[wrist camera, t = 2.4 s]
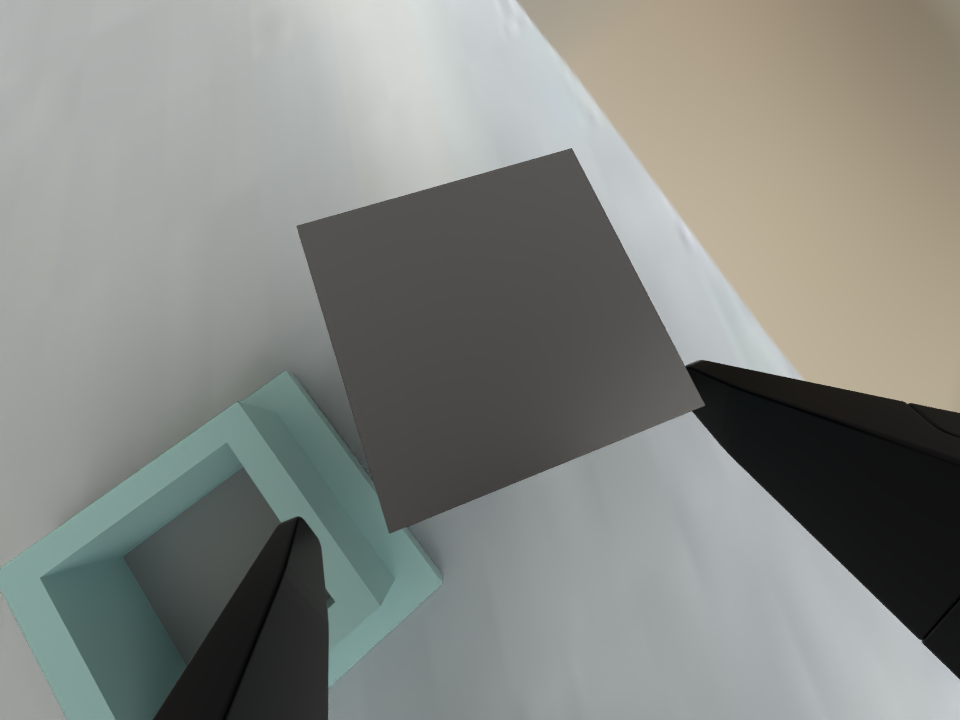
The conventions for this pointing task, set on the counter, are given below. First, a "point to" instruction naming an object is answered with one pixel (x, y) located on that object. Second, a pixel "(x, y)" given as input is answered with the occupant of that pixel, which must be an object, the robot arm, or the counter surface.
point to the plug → (489, 333)
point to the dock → (208, 556)
